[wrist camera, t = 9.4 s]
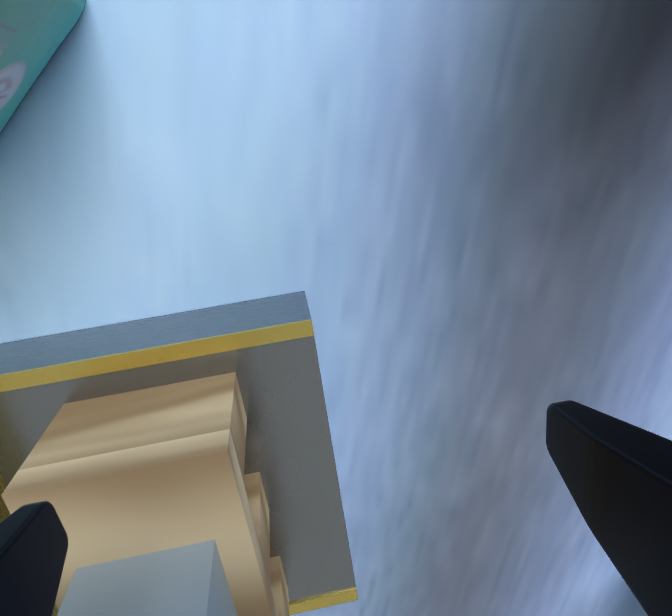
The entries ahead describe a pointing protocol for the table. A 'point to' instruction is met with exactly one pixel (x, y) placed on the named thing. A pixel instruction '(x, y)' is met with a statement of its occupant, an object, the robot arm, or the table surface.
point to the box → (30, 44)
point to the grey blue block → (153, 585)
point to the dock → (259, 403)
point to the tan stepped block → (157, 484)
